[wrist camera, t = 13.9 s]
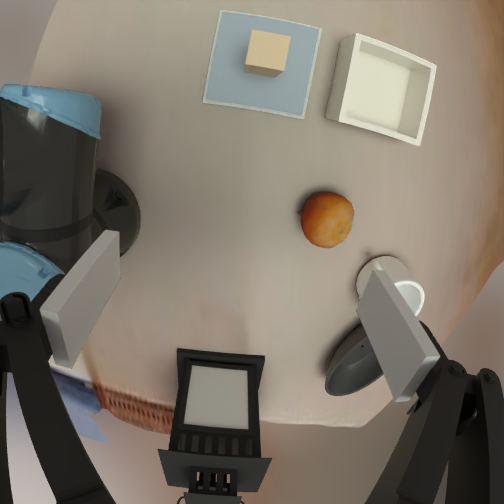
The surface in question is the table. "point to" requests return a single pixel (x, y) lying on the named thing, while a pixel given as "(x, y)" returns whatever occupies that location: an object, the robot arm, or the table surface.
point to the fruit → (326, 219)
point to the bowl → (353, 365)
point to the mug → (394, 280)
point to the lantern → (216, 427)
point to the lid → (262, 62)
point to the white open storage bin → (381, 88)
